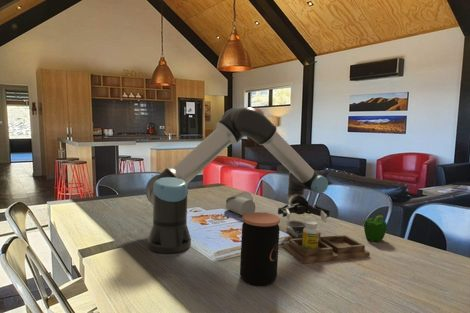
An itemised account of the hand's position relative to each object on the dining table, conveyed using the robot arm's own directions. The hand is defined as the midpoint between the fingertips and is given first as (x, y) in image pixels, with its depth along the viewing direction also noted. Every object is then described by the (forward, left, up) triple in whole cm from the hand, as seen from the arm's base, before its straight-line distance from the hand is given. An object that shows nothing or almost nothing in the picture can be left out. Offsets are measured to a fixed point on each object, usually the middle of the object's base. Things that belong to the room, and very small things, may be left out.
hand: (307, 218), depth 121 cm
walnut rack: (+3, -8, -10) cm, 13 cm away
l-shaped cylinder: (-9, +48, -10) cm, 50 cm away
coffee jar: (-28, -21, -10) cm, 36 cm away
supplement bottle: (-3, -8, -9) cm, 12 cm away
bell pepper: (+30, -1, -10) cm, 32 cm away
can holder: (+4, +10, -10) cm, 15 cm away
